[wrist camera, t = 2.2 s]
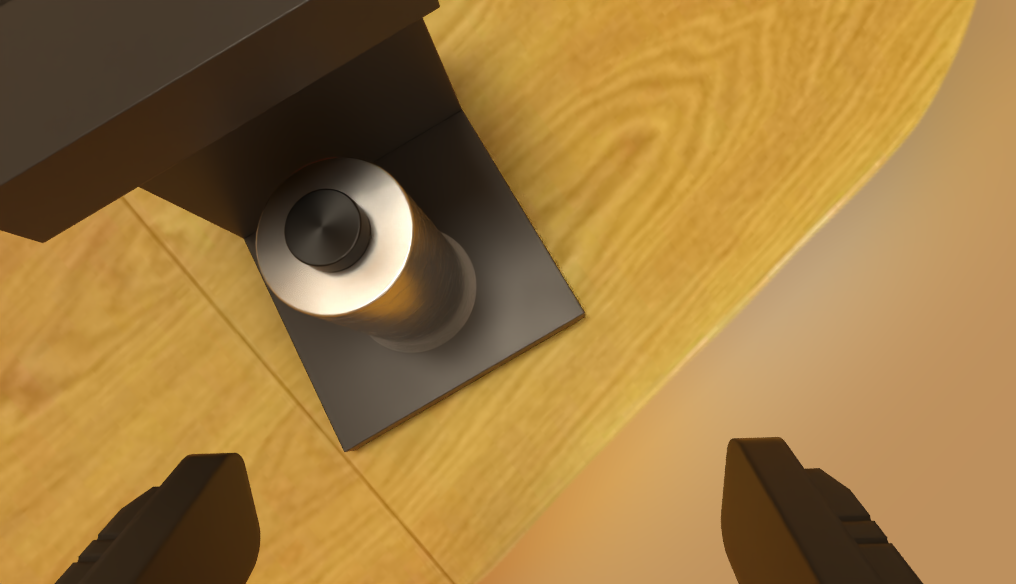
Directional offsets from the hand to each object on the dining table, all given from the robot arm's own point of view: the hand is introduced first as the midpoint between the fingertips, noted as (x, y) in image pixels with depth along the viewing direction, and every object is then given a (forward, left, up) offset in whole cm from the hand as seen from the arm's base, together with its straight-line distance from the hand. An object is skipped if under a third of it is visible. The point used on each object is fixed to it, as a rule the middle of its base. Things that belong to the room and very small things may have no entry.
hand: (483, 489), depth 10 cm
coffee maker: (+5, -14, -24) cm, 28 cm away
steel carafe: (+5, -10, -22) cm, 25 cm away
